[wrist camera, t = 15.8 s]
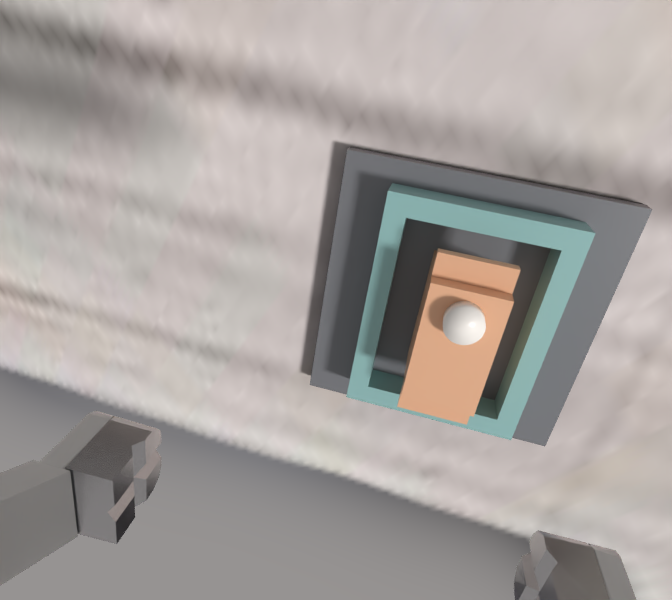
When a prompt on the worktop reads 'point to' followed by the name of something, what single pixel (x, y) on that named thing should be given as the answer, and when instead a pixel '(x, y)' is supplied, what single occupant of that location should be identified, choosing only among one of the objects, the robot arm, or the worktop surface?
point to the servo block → (457, 334)
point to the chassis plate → (481, 241)
